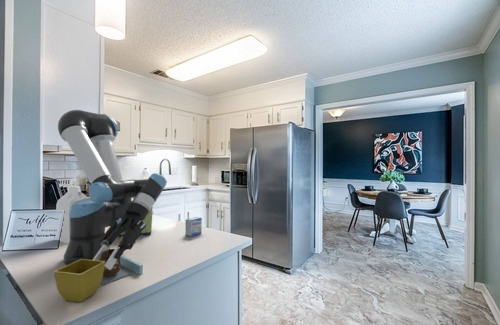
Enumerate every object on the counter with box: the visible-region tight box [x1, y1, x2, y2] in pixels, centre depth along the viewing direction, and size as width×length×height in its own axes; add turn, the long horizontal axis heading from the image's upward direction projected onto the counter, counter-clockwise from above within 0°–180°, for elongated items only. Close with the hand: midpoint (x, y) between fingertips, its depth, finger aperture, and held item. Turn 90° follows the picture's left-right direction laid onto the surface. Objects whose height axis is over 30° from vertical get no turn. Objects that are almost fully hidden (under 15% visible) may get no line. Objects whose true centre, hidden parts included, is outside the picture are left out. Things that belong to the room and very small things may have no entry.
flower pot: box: [53, 259, 105, 303], centre depth 68 cm, size 9×9×9 cm
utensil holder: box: [101, 237, 123, 276], centre depth 80 cm, size 6×6×12 cm
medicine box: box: [184, 216, 203, 237], centre depth 128 cm, size 8×4×9 cm, turn 146°
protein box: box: [118, 207, 153, 238], centre depth 127 cm, size 10×16×16 cm
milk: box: [55, 185, 89, 245], centre depth 117 cm, size 12×12×26 cm
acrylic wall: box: [120, 255, 144, 275], centre depth 86 cm, size 14×1×3 cm, turn 56°
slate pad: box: [99, 267, 131, 287], centre depth 80 cm, size 9×9×1 cm
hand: (100, 266), depth 77 cm, fingers closed on utensil holder, 5 cm apart
